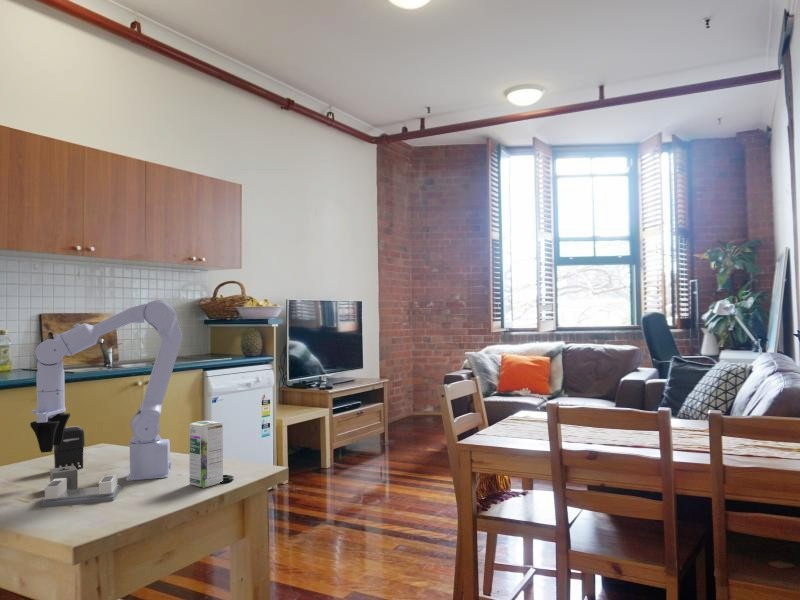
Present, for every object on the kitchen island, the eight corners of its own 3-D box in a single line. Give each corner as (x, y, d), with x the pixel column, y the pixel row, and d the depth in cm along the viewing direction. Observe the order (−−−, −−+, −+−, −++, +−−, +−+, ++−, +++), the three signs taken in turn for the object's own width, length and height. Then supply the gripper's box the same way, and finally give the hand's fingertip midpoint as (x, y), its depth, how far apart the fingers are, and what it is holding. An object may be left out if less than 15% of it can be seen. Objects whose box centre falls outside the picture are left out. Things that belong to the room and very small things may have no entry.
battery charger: (56, 475, 153) (55, 430, 153) (52, 472, 156) (52, 428, 156) (86, 470, 157) (85, 426, 158) (82, 467, 160) (82, 424, 160)
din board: (120, 489, 139) (120, 483, 139) (113, 501, 130) (113, 494, 130) (53, 495, 135) (53, 489, 135) (40, 508, 127) (40, 501, 127)
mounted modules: (117, 484, 138) (117, 472, 138) (111, 493, 131) (111, 481, 131) (54, 490, 135) (54, 478, 135) (44, 499, 128) (44, 486, 128)
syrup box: (188, 484, 142) (187, 423, 142) (209, 478, 147) (208, 419, 147) (203, 488, 139) (202, 425, 139) (224, 482, 143) (223, 421, 144)
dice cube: (52, 495, 136) (52, 473, 136) (50, 490, 140) (50, 468, 140) (77, 491, 139) (77, 469, 139) (74, 486, 143) (74, 465, 143)
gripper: (41, 387, 147) (41, 443, 147) (21, 395, 133) (21, 456, 133) (73, 386, 149) (73, 441, 149) (56, 393, 135) (57, 454, 135)
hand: (51, 448), depth 141 cm, fingers open, 7 cm apart
